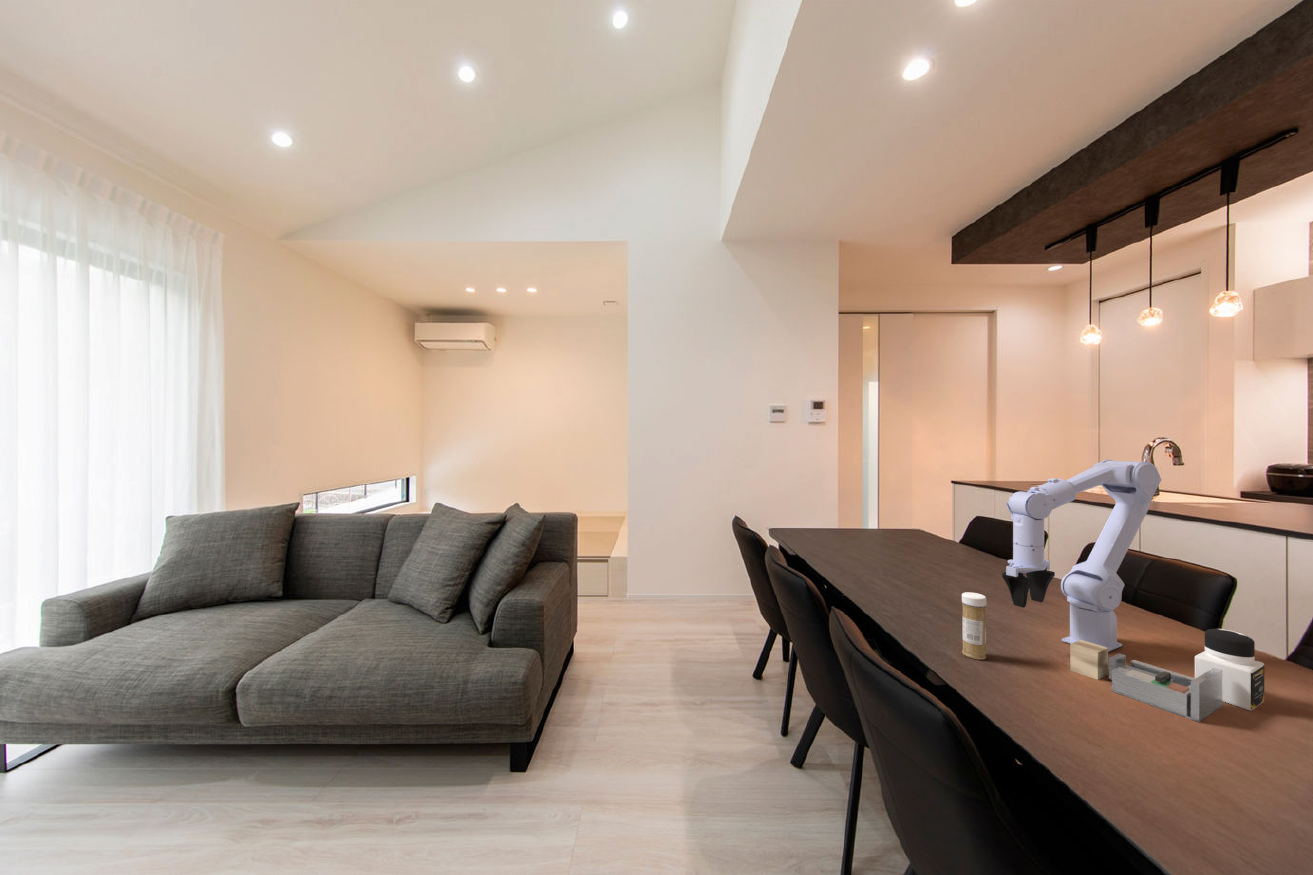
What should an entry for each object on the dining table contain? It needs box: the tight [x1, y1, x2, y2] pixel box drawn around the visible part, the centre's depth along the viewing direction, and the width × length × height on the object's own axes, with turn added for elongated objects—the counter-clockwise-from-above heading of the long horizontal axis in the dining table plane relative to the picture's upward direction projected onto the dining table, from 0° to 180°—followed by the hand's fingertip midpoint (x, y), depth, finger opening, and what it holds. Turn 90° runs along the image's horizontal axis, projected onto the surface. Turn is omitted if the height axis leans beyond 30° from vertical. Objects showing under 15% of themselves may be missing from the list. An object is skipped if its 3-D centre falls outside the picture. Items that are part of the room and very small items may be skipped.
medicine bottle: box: [1194, 628, 1265, 712], centre depth 91 cm, size 7×7×12 cm
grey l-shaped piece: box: [1108, 653, 1173, 682], centre depth 93 cm, size 8×8×4 cm
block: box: [1069, 640, 1109, 681], centre depth 101 cm, size 4×4×6 cm
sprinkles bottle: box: [961, 591, 987, 661], centre depth 108 cm, size 5×5×14 cm
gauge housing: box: [1111, 659, 1223, 723], centre depth 91 cm, size 11×12×6 cm
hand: (1028, 603), depth 113 cm, fingers open, 7 cm apart
